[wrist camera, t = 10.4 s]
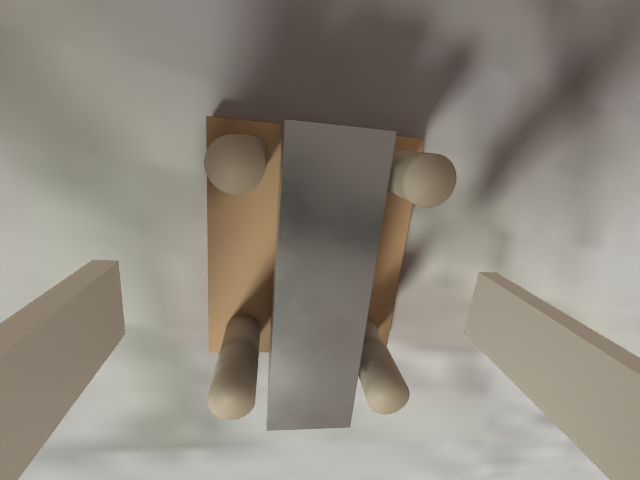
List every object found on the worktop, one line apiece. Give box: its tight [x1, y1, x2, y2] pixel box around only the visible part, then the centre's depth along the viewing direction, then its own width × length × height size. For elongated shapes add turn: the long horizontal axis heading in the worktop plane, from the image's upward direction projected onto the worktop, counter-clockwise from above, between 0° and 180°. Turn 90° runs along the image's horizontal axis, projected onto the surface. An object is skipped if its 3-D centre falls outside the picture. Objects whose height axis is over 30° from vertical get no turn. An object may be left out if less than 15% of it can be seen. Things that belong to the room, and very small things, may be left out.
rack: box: [204, 116, 456, 420], centre depth 14 cm, size 10×12×6 cm
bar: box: [267, 119, 397, 431], centre depth 14 cm, size 12×4×5 cm, turn 175°
